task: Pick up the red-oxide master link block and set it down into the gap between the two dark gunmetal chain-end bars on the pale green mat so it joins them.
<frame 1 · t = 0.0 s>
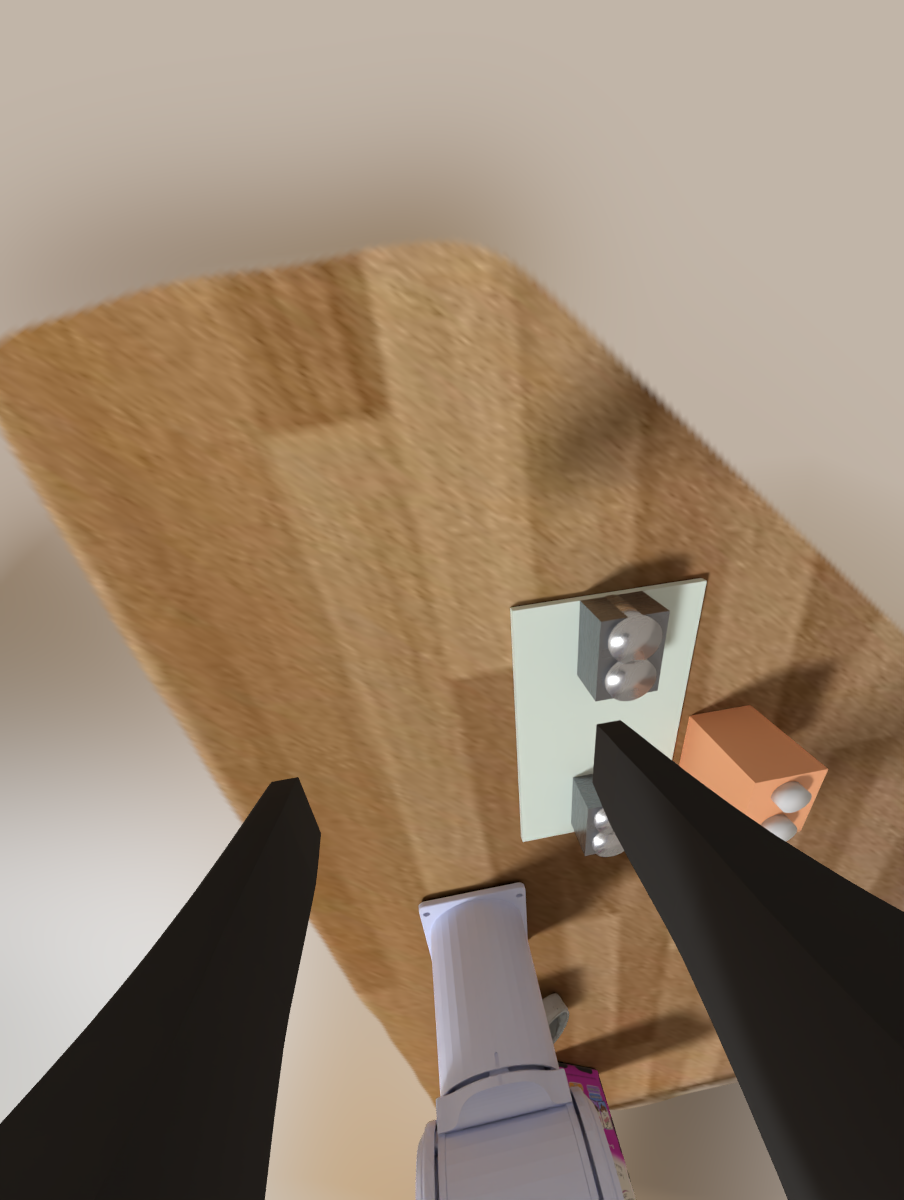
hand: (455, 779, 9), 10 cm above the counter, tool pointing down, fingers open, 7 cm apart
candy bar box: (555, 1068, 48), on the counter
ceramic mug: (509, 1005, 39), on the counter
master link: (711, 739, 25), on the counter
mat: (597, 726, 23), on the counter
chain end B: (608, 634, 20), resting on mat
chain end A: (595, 796, 26), resting on mat
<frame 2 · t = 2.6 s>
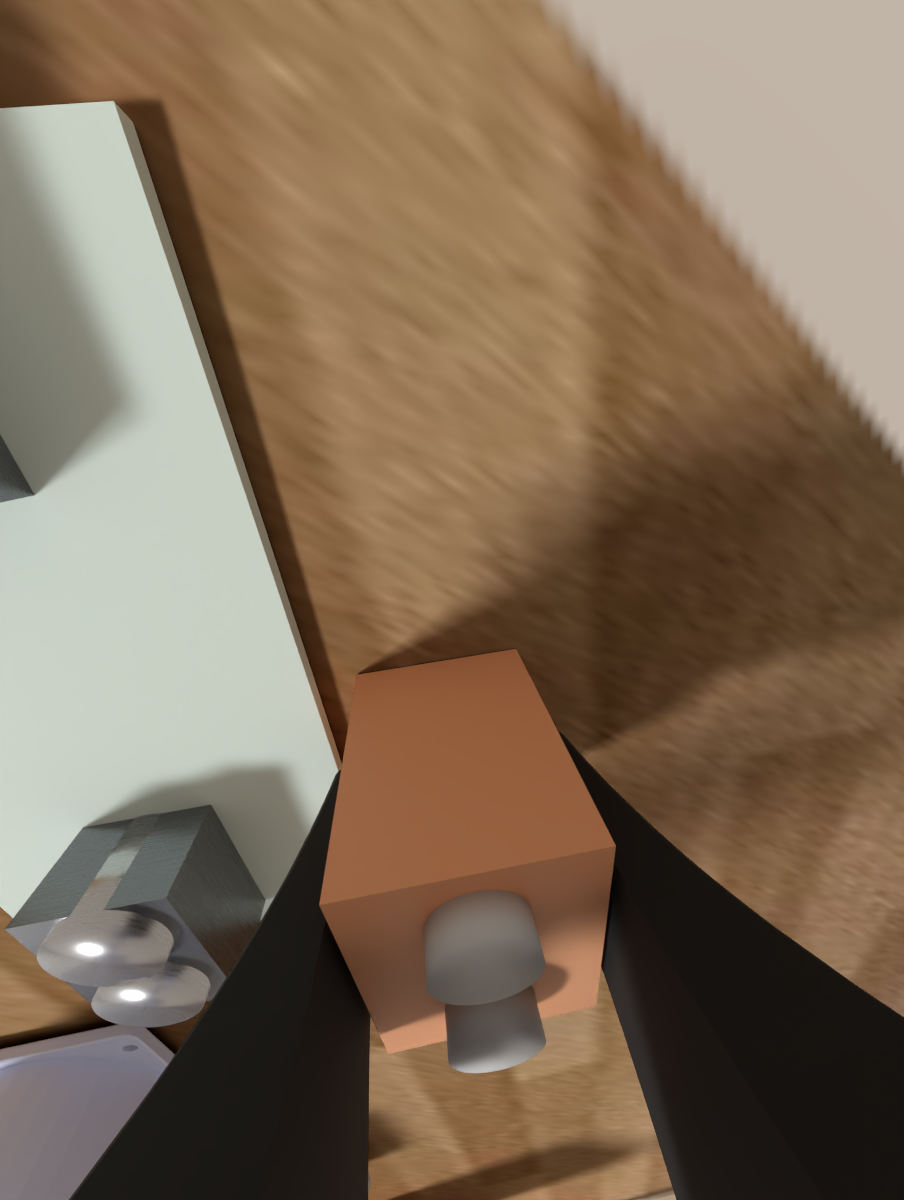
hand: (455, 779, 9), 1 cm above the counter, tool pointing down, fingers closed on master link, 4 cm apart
master link: (448, 736, 11), on the counter, touching gripper
mat: (89, 700, 9), on the counter
chain end A: (183, 867, 11), resting on mat
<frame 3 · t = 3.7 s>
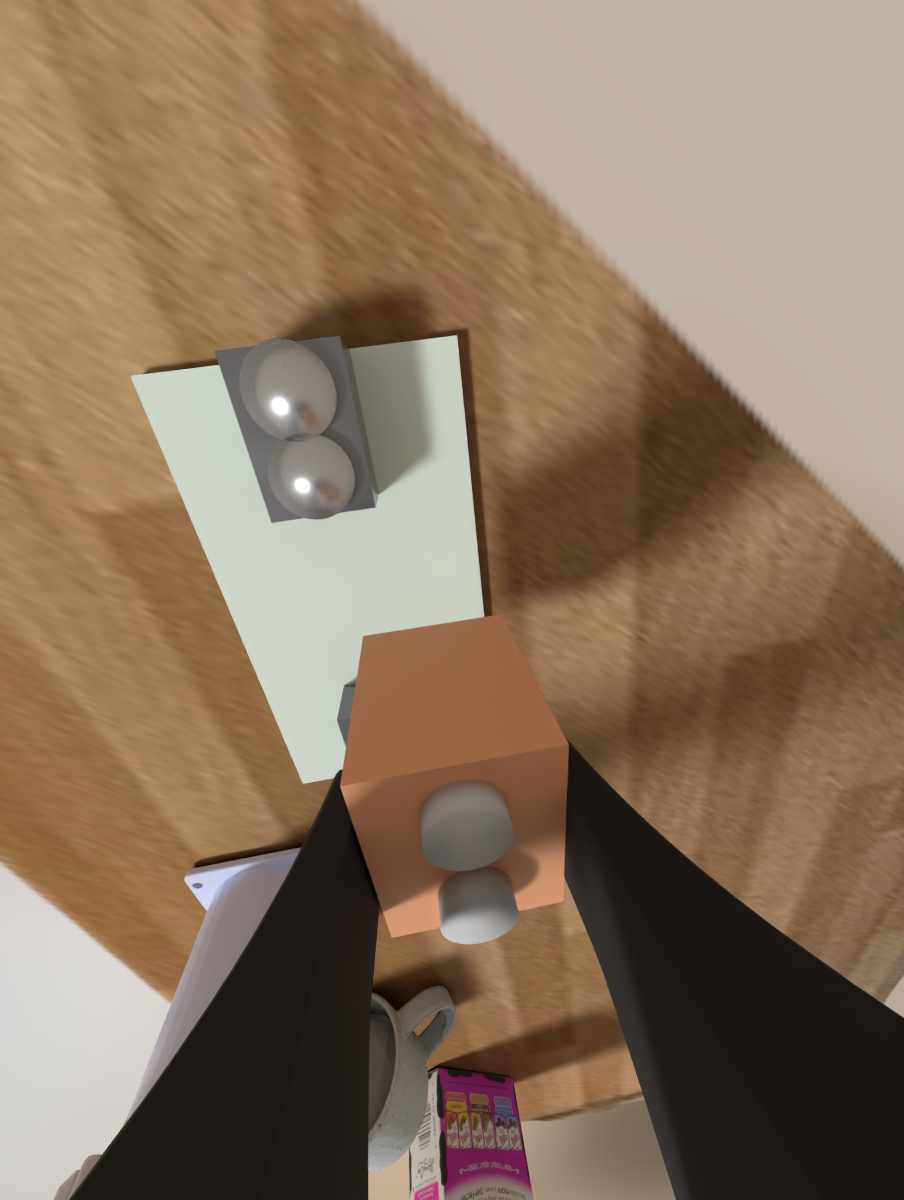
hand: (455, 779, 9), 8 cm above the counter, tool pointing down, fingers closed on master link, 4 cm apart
candy bar box: (461, 1077, 41), on the counter
ceramic mug: (387, 1001, 32), on the counter
master link: (442, 693, 12), point 5 cm above the counter, touching gripper
mat: (363, 606, 16), on the counter
chain end B: (317, 433, 13), resting on mat
chain end A: (389, 717, 18), resting on mat
when the fingers open (3 cm above the counter, at t = 5.3 s): master link stays where it is, resting on mat.
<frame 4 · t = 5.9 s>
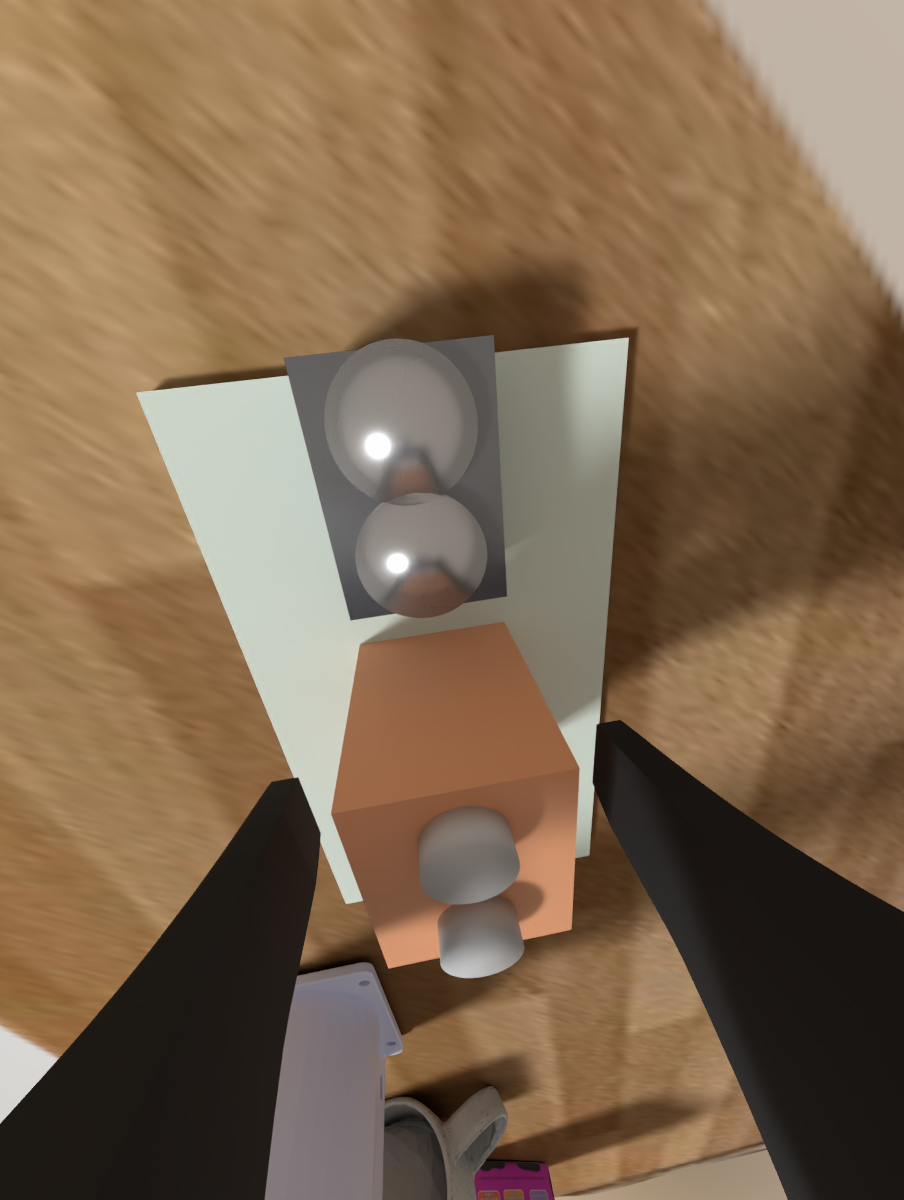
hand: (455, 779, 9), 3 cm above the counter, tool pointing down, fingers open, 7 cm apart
candy bar box: (491, 1165, 37), on the counter
ceramic mug: (426, 1101, 28), on the counter
master link: (443, 703, 12), resting on mat
mat: (442, 698, 12), on the counter
chain end B: (409, 478, 9), resting on mat
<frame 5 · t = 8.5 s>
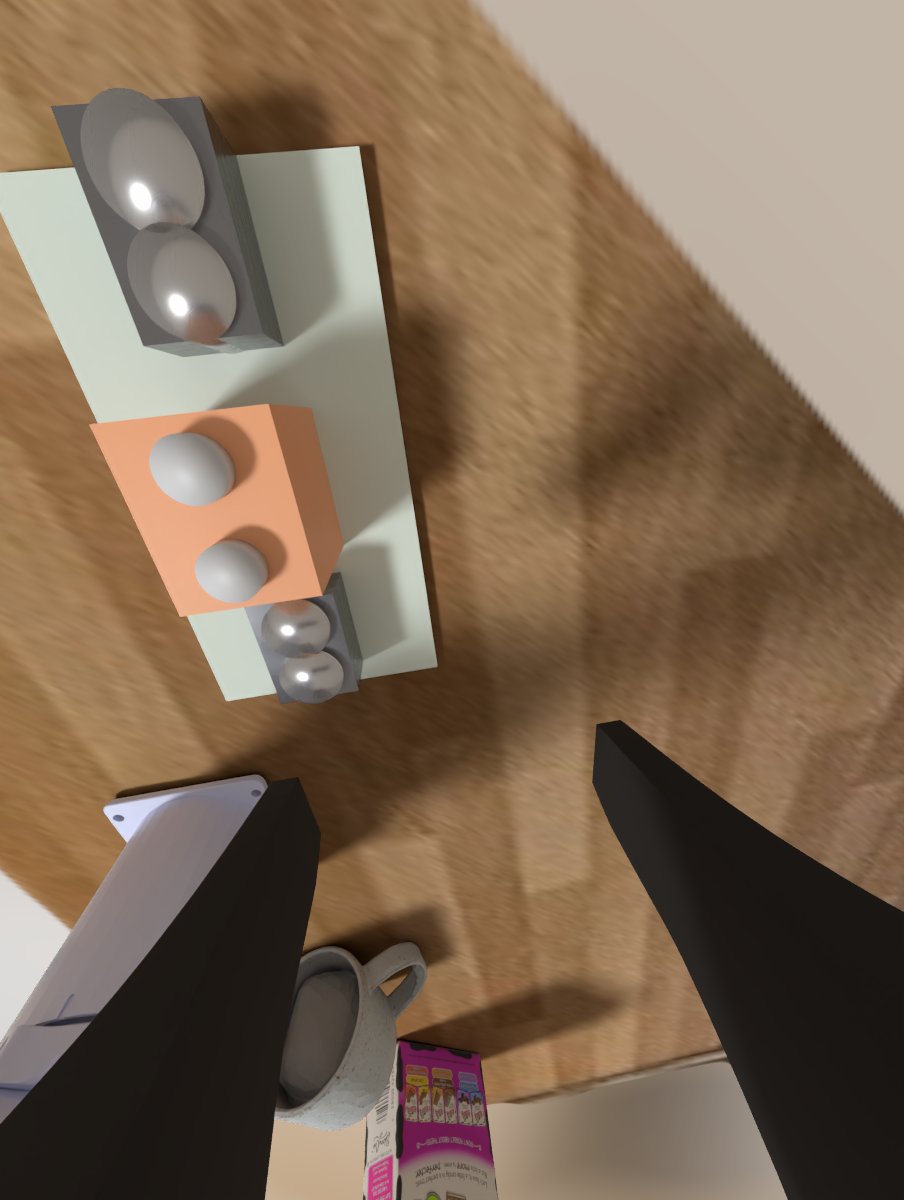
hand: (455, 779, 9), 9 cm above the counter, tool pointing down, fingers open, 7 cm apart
candy bar box: (426, 1053, 39), on the counter
ceramic mug: (355, 959, 30), on the counter
master link: (275, 488, 15), resting on mat
mat: (279, 490, 15), on the counter
chain end B: (207, 263, 12), resting on mat
chain end A: (316, 624, 17), resting on mat
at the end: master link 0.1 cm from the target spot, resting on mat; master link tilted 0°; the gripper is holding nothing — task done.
